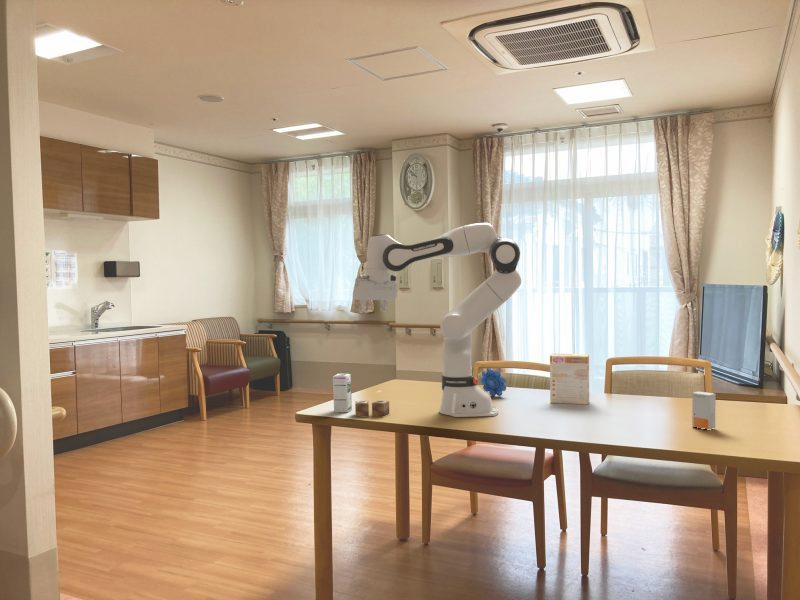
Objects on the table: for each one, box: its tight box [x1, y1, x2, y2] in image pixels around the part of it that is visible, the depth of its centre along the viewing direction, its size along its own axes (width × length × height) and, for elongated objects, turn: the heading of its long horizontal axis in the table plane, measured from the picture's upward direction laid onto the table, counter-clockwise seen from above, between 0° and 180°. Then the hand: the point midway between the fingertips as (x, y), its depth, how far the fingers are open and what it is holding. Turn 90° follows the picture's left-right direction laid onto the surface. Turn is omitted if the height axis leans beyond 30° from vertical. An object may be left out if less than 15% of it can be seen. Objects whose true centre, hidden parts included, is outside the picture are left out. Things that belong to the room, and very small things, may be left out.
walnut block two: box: [371, 400, 390, 417], centre depth 247 cm, size 5×5×5 cm
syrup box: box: [332, 372, 353, 413], centre depth 255 cm, size 6×6×14 cm
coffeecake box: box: [549, 353, 590, 405], centre depth 265 cm, size 15×7×20 cm, turn 69°
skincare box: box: [691, 391, 717, 429], centre depth 218 cm, size 6×4×12 cm
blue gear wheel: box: [479, 368, 507, 397], centre depth 280 cm, size 12×7×12 cm, turn 64°
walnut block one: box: [354, 400, 370, 417], centre depth 247 cm, size 5×5×5 cm
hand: (373, 311), depth 252 cm, fingers open, 8 cm apart
